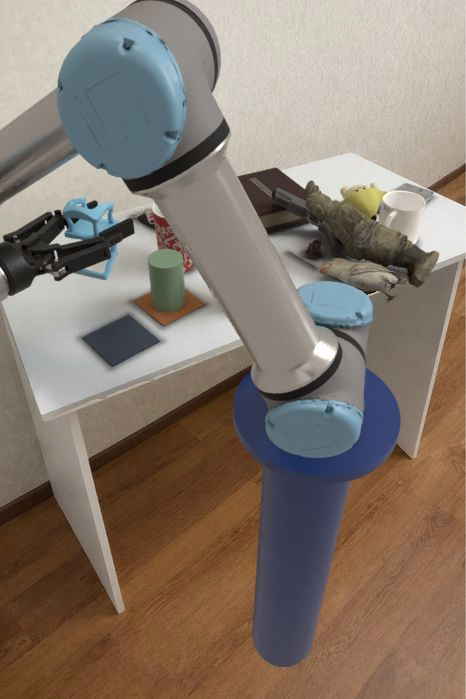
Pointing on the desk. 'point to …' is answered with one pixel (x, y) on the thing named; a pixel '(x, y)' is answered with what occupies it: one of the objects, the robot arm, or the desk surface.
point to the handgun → (308, 218)
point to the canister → (167, 280)
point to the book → (260, 197)
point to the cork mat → (169, 317)
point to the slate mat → (121, 340)
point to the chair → (90, 228)
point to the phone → (415, 189)
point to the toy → (364, 198)
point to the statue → (370, 237)
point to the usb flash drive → (146, 217)
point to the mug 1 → (169, 237)
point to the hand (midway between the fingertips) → (114, 216)
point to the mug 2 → (403, 212)
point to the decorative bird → (364, 275)
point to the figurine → (313, 250)
